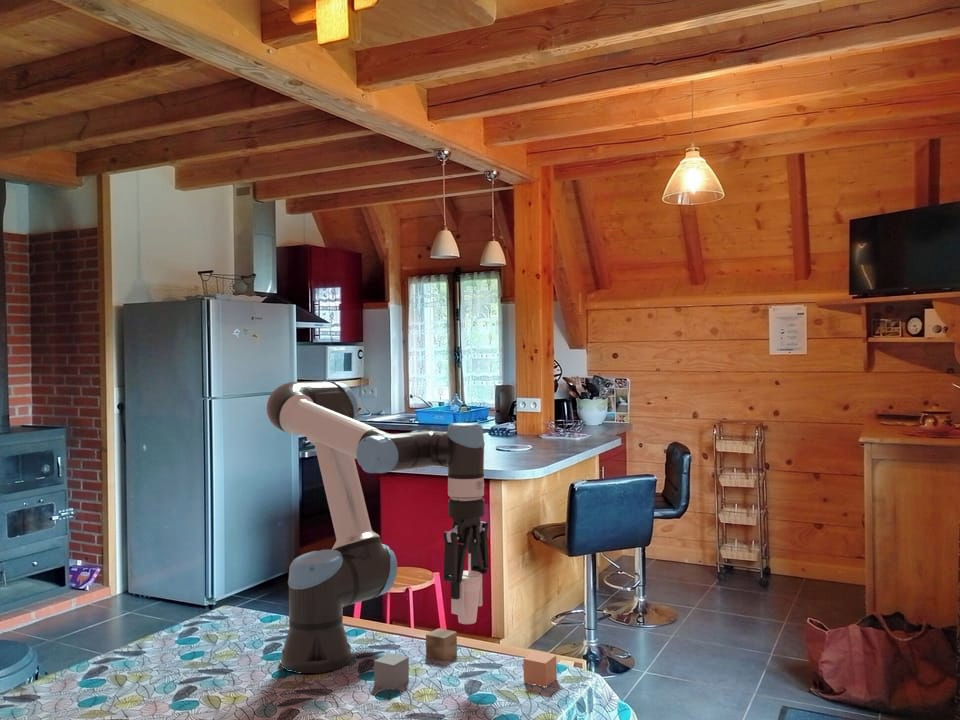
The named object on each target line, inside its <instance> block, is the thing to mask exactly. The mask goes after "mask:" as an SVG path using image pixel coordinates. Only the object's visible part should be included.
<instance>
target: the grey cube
mask: <svg viewBox="0 0 960 720" xmlns="http://www.w3.org/2000/svg"><path fill="white" fill-rule="evenodd" d="M373 661H374V662H373V666H374V667H373V668H374V669H373V671H374V673H373V675H374V677H373V679H374V681H373V682H374V683H373V685H374V686H377V687H381V688H384V689H388V690H392V691H395V690H396V689H398V688H400V687H401V686H403V685H405V684H407V683H408V682H410V674H409V673H410V671H409V670H410V668H409V665H410V664H409V663H410V662H409V661H410V660H409V656H404V655H400V654H396V653H391V652H389V653H387V654H385V655H382V656H381V657H379V658H377V659H375V660H373Z"/></svg>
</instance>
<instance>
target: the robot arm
mask: <svg viewBox="0 0 960 720" xmlns="http://www.w3.org/2000/svg"><path fill="white" fill-rule="evenodd" d="M358 405H359V404H358V400H357V397H356V395H355V393H354V392H353V390H352V388H350V387H349V386H348V385H346V384H345V383H343V382H339V381H332V380H324V381H290V382H286V383H283V384H281V385H280V386H278V387H276V388H275V389H274V390H273V391H272V392H271V394H270V395H269V397H268V399H267V403H266V414H267V415H266V416H267V418H268V419H269V421H270V423H271V424H272V425H273V426H274V427H275V428H277V429H278V430H280V431H282V432H284V433H287V434H288V435H291V436H292V435H293V436H296V435H302V436H304V437H306V440H307V441H308V442H309V443H312V444H313V445H314V449H315V452H316V453H315V454H316V456H317V461H318V465H319V470H320V474H321V477H322V478H321V480H322V483H323V487H324V492H325V495H326V501H327V505H328V510H329V512H330V517H331V522H332V525H333V529H334V534H335V539H336V541H335V543H334V545H333V546H332V548H331V549H327V548H326V549H321V550H312V551H309V552H306V553H303V554H301V555H298V556H297V557H296V558H294V559H293V560H292V561H291V563H290V565H289V571H288V580H287V584H288V624H289V625H288V632H287V634H286V638H285V640H284V641H285V642H284V646H283V649H282V651H281V654H280V655H281V656H280V658H281V659H280V664H282V666H283V667H284V668H286V669H288V670H292V671H296V672H301V673H316V674H323V673H326V672H327V671H328V672H331V670H332V671H336V670H339V669H341V668H343V667H345V666H346V665H348V664H347V663H348V662H349V663H350V662H351V660H350V659H352V649H351V645H350V643H349V642H348V638H347V633H346V630H345V626H344V623H343V608H344V607H347V606H350V605H353V604H357V603H360V602H364V601H368V600H373V599H375V598H378V597H379V596H382V595H385V594H387V593H388V592H389V591H390V590H391V589H392V588H393V586H394V584H395V581H396V579H397V576H398V575H397V574H398V560H397V557H396V554H395V552H394V551H393V550H392V549H391V547H390V546H388V545H387V544H383V543H382V540H381V536H380V535H379V534H378V533H376V532H375V531H373V528H372V525H371V521H370V518H369V512H368V509H367V505H366V501H365V496H364V491H363V488H362V484H361V481H360V476H359V472H358V467H357V464H356V461H357V463H358V465H359V466H360V468H361V469H362V470H363V471H364V472H365V473H368V474H386V473H389V472H395V471H396V472H397V471H402V470H411V469H417V468H424V467H443V468H447V495H448V496H449V497H450V498H449V499H448V502H447V503H448V504H447V505H448V507H447V510H448V512H447V515H448V516H449V517H450V518H451V519H452V526H451V529H450V530H449V531H444V532H443V539H444V540H443V541H444V555H443V556H444V557H443V558H444V561H443V580H444V582H448V583H450V598H451V599H450V601H451V602H450V603H451V608H450V609H451V610H450V611H451V614H453V615H457V616H458V615H462V616H463V615H465V608H464V582H461V581H462V576H463V571H464V569H465V561H466V555H467V554H468V553H471V571H477V572H480V573H481V574H482V575H484V574H485V575H487V574H488V568H489V567H490V566H489V562H490V561H489V546H488V545H489V543H488V528H489V523H488V522H487V521H481V519H480V518H483V517H484V516H485V499H484V498H483V496H485V480H484V479H485V471H484V470H485V469H484V468H485V467H484V466H485V465H484V463H485V461H484V460H485V438H484V428H483V425H481V424H480V423H477V422H453V423H452V422H451V423H449V424H448V426H447V431H437V430H429V429H419V430H417V429H416V430H412V431H410V432H404V433H403V432H402V433H400V432H399V433H389V432H386V431H384V430H380V429H378V428H377V427H374V426H371V425H369V424H366V423H364V422H361V421H360V420H357V417H358V414H357V413H358V411H359V407H358ZM482 606H483V579H482V580H481V583H480V592H479V601H478V607H482ZM344 665H345V666H344ZM282 666H281V667H282ZM342 666H343V667H342ZM283 667H282V668H283ZM340 667H341V668H340ZM284 668H283V669H284ZM335 669H336V670H335ZM322 672H323V673H322ZM328 672H327V673H328Z"/></svg>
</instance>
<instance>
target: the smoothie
mask: <svg viewBox="0 0 960 720" xmlns="http://www.w3.org/2000/svg"><path fill="white" fill-rule="evenodd" d="M467 567H468V568H467V570H463V576H462V581H461V582H464V608H465V615H463V616H462V615H457V620H458V623H459V624H463V625H473V624H475V623H476V622H477V618H478V609H479V608H478V607H479V606H478V601H479V592H480V583H481V580H482V581H483V573H482V574H481V573H480V572H477V571H472V569H471V553H468V552H467Z"/></svg>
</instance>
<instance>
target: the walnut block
mask: <svg viewBox="0 0 960 720" xmlns="http://www.w3.org/2000/svg"><path fill="white" fill-rule="evenodd" d="M457 634H458V633H457V631H455V630H449V629H444V628H440V627H439V628H435V630H432V631H430V632H428V633H425V657H426V658H431V659H435V660H438V661H447V660H449V659H450V658H452V657H454V656H456V655H457V654H458V639H457V638H458V635H457Z"/></svg>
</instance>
